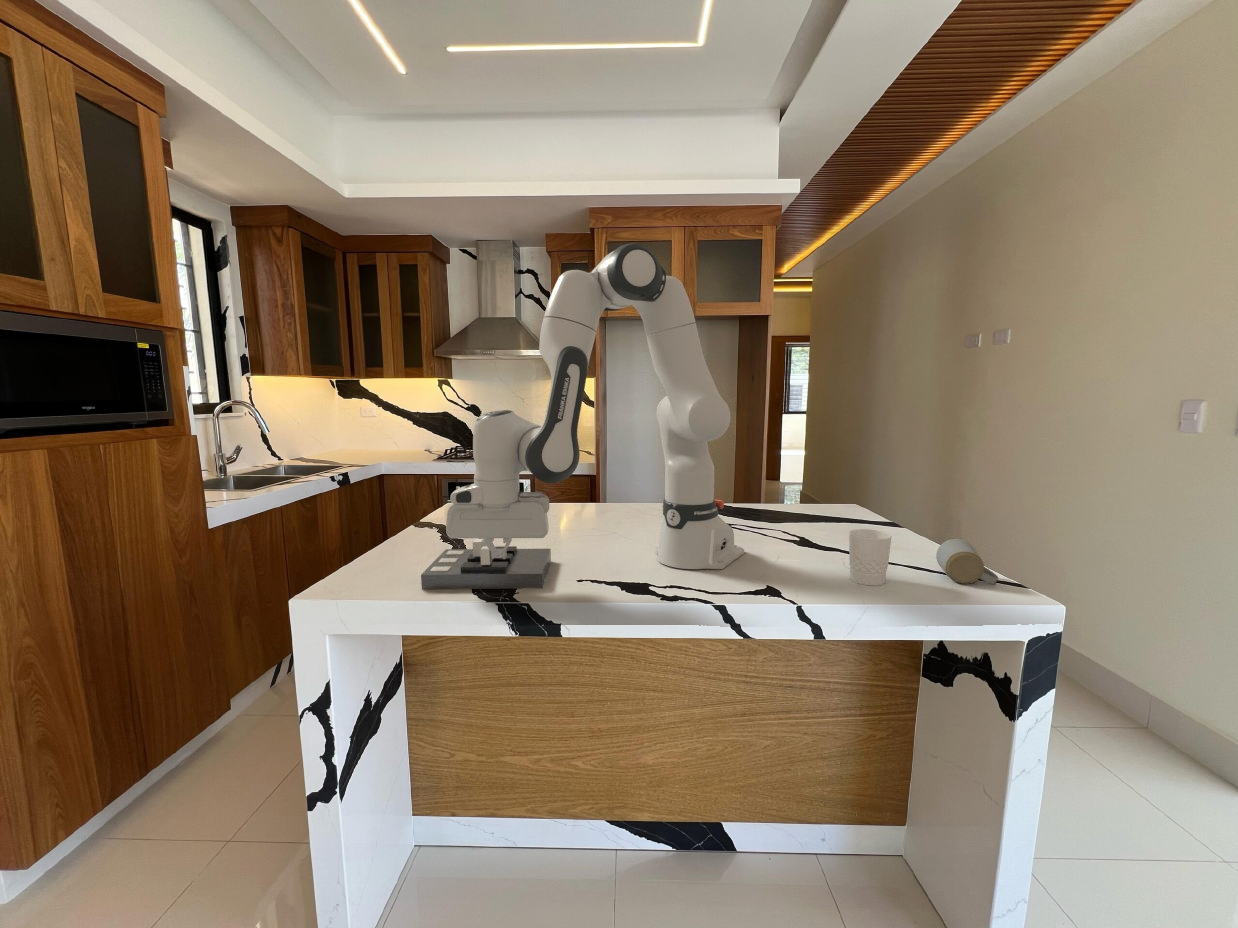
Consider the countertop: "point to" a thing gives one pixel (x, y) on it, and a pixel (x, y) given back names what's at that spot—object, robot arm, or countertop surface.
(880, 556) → the white cup
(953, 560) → the ceramic mug
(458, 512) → the robot arm
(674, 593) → the countertop surface
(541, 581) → the breaker panel
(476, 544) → the block
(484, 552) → the block
